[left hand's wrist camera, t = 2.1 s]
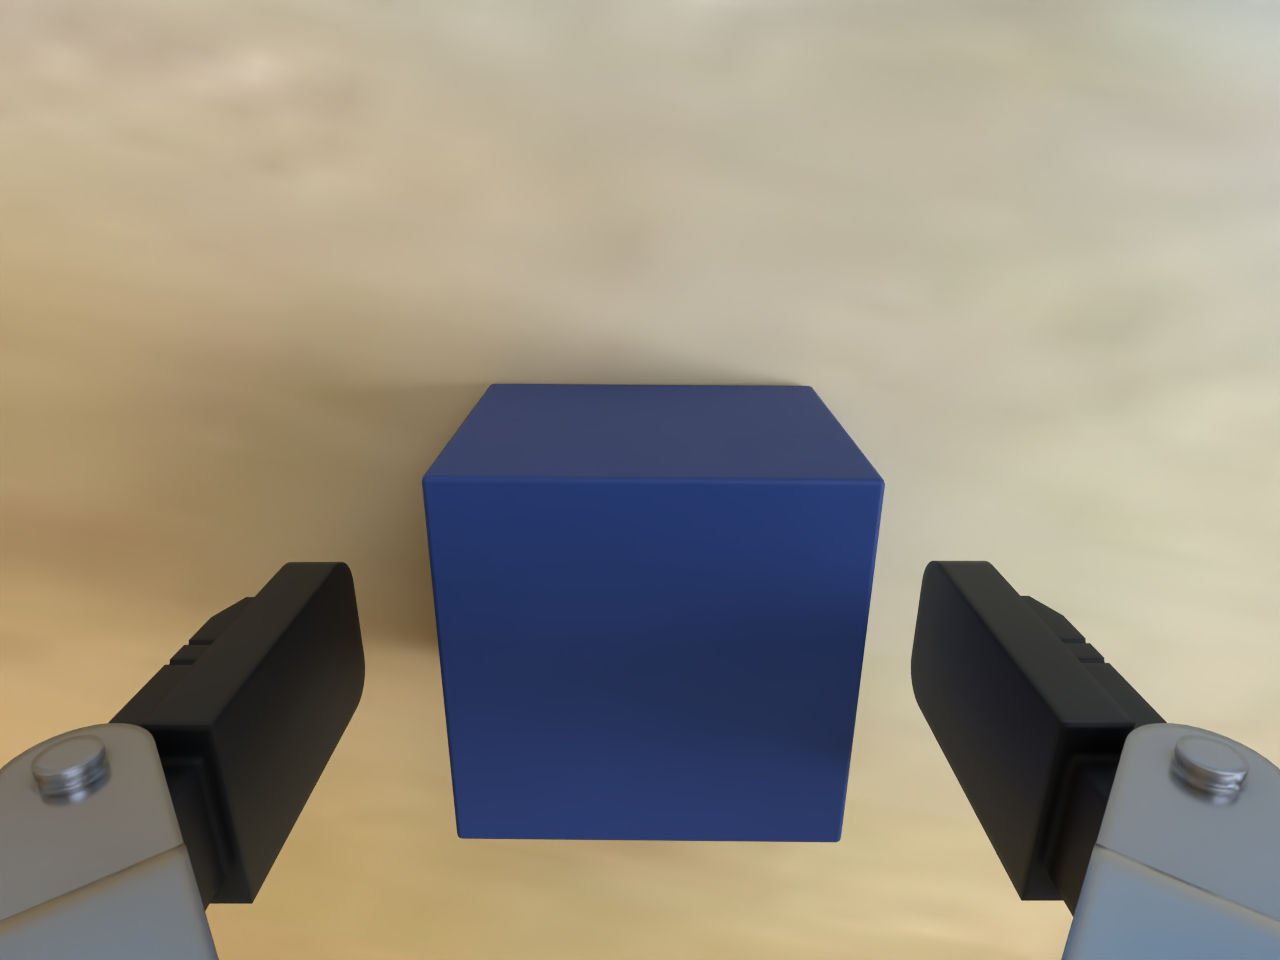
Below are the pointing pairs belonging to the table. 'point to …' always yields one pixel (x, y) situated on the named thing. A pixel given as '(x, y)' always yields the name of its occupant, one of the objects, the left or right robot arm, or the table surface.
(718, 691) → the brick
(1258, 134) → the table surface
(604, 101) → the table surface
